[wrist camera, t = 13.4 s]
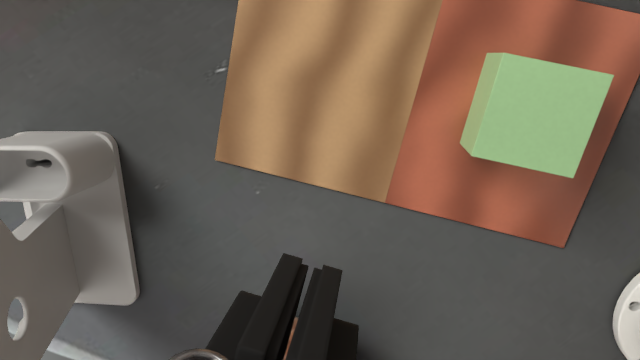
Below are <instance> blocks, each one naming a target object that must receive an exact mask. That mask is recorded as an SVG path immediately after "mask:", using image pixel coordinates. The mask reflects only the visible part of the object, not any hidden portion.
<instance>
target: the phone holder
mask: <svg viewBox="0 0 640 360" xmlns="http://www.w3.org/2000/svg"><path fill="white" fill-rule="evenodd" d="M0 201H15V202H23V205H24V209H25V214H26V218H27V220H26V221H25V222H24V223H22V224H21V225H20V226H19V227H18V228H16V229H15V230H14V231H13V232H11V231H10V230H9V229H8V227H7V226H6V225H5V224H4V223H3V221H2V220H1V219H0V360H40V359H41V358H42V356H43V354H44V353H45V351H46V349H47V348H48V346H49V344H50V343H51V341H52V339H53V338H54V336H55V334H56V332H57V331H58V329H59V327H60V326H61V324H62V322H63V321H64V319H65V317H66V316H67V314H68V312H69V311H70V309H71V307H72V306H73V304H74V303H91V304H108V305H130V304H132V303H133V302H134V301H135V300H136V299H137V298H138V297H139V294H140V287H139V281H138V274H137V268H136V261H135V255H134V249H133V242H132V236H131V229H130V223H129V216H128V210H127V203H126V197H125V190H124V184H123V178H122V171H121V165H120V158H119V152H118V146H117V143H116V141H115V139H114V138H113V137H112V136H111V135H110V134H108V133H106V132H103V131H26V132H21V133H17V134H15V135H14V136H12V137H8V138H3V139H0ZM16 298H17V299H19V301H20V302H21V304H22V307H23V312H24V317H23V319H22V320H21V321H20V322H19V326H18V330H17V333H16V335H15V337H14V338H13V339H12V338H11V337H10V335H9V332H8V327H7V316H8V311H9V307H10V304H11V302H12V301H13V300H14V299H16Z"/></svg>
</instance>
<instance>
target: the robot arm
mask: <svg viewBox="0 0 640 360" xmlns="http://www.w3.org/2000/svg"><path fill="white" fill-rule="evenodd" d="M307 270H308V266H307V265H304V264H302V258H298V257H295V256H291V255H288V254H285V253H283V255H282V257H281V259H280V261H279V263H278V265H277V267H276V269H275V271H274V273H273V275H272V277H271V279H270V281H269V283H268V285H267V287H266V289H265V291H264V293H263V295H262V297H261V296H258V295H255V294H251V293H248V292H245V291H240V293H239V294H238V296H237V297H236V299H235V301H234V302H233V304H232V306H231V307H230V309H229V310H228V312H227V314H226V315H225V317H224V319H223V320H222V322H221V324H220V325H219V327H218V329H217V330H216V332H215V334H214V335H213V337H212V339H211V340H210V342H209V344H208V345H207V347H206V349H191V350H185V351H183V352H180V353H178V354H175V355H174V356H173V357H171V358H170V359H169V360H283V359H284V356H285V352H286V349H287V345H288V342H289V338H290V334H291V330H292V326H293V323H294V319H295V315H296V311H297V308H298V304H299V300H300V296H301V293H302V289H303V285H304V281H305V278H306V274H307ZM341 275H342V270H340V269H336V268H333V267H329V266H326V265H323V268H322V270H321V269H317V268H314V271H313V274H312V277H311V280H310V283H309V286H308V290H307V293H306V296H305V299H304V302H303V305H302V308H301V312H300V315H299V318H298V321H297V324H296V327H295V330H294V334H293V337H292V340H291V343H290V346H289V349H288V352H287V356H286V359H285V360H356V354H357V342H358V330H359V326H358V325H355V324H352V323H349V322H345V321H342V320H339V319H335V318H334V313H335V308H336V302H337V297H338V292H339V286H340V281H341ZM613 332H614V338H615V340H616V342H617V345H618V347H619V349H620V350H621V352H622V353H623V354H624V356H625V357H626V358H627V360H640V273H639V274H638V275H636V276H635V277H634V278H633V279H632V280H631V281H630V283H629V284H628V285H627V286H626V287H625V289H624V290H623V292H622V294H621V295H620V297H619V299H618V301H617V304H616V307H615V310H614V313H613Z"/></svg>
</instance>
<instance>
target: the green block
mask: <svg viewBox="0 0 640 360" xmlns="http://www.w3.org/2000/svg"><path fill="white" fill-rule="evenodd" d="M613 77H614V75H612V74H607V73H602V72H597V71H592V70H588V69H583V68H578V67H573V66H568V65H563V64H558V63H553V62H548V61H543V60H538V59H533V58H528V57H524V56H519V55H514V54H509V53H487V54H486V58H485V61H484V64H483V67H482V71H481V74H480V77H479V81H478V84H477V87H476V90H475V94H474V97H473V100H472V104H471V107H470V110H469V114H468V117H467V120H466V123H465V127H464V130H463V133H462V137H461V140H460V144H461V145H462V146H463V147H464V149H465V150H466V151H467V152H468V153H469V154H470V155H471V156H473V157H478V158H482V159H487V160H491V161H496V162H500V163H505V164H510V165H514V166H519V167H523V168H528V169H532V170H537V171H541V172H546V173H550V174H555V175H559V176H564V177H569V178H574V175H575V173H576V170H577V168H578V165H579V163H580V160H581V158H582V155H583V153H584V150H585V148H586V145H587V143H588V140H589V138H590V135H591V133H592V130H593V128H594V125H595V122H596V120H597V117H598V115H599V112H600V110H601V107H602V105H603V102H604V100H605V97H606V95H607V92H608V90H609V87H610V85H611V82H612V80H613Z"/></svg>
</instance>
